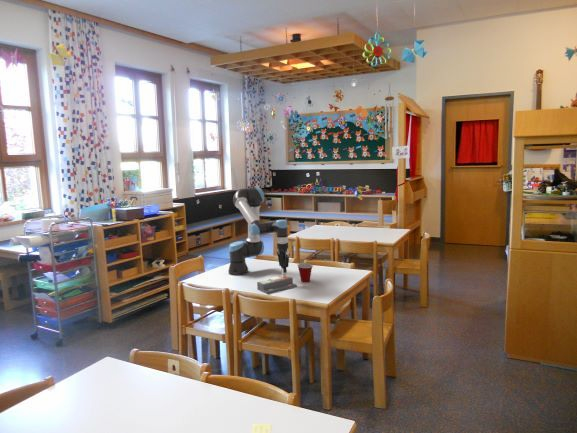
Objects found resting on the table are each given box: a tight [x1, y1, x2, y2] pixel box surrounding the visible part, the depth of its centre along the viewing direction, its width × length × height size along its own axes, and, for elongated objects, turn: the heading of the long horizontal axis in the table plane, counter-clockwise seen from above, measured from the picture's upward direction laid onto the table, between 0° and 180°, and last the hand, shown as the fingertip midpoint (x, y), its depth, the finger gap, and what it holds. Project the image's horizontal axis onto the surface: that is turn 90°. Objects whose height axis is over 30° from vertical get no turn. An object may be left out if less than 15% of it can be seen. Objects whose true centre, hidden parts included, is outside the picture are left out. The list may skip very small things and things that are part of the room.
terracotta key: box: [278, 275, 291, 280], centre depth 298 cm, size 6×6×3 cm
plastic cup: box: [297, 262, 314, 283], centre depth 304 cm, size 11×11×12 cm
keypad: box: [256, 276, 298, 295], centre depth 292 cm, size 13×23×5 cm, turn 123°
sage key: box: [258, 279, 272, 284], centre depth 290 cm, size 6×6×3 cm
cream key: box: [268, 276, 281, 282], centre depth 294 cm, size 6×6×3 cm
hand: (284, 276), depth 298 cm, fingers closed
